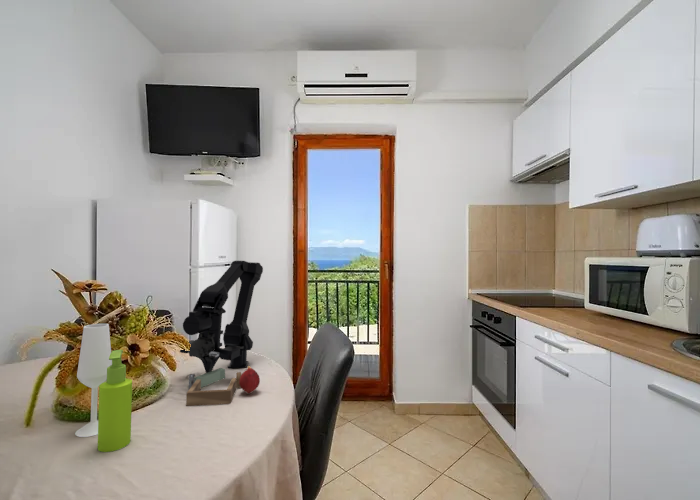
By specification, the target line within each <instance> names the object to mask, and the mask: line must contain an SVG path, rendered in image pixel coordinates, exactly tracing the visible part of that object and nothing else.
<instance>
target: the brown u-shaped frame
mask: <svg viewBox="0 0 700 500" xmlns="http://www.w3.org/2000/svg"><path fill="white" fill-rule="evenodd" d="M241 375H242V372H241V371H237V372H236V377H232V378H231V380H230V383H229V385H228V387H226V389H210V390H209V389H207V390H201V389H202V387H201V379H199V380H196V381H195V383H194V384H193V385H192V386H191V388H190V389H189V388H188V390H187V392H186V397H185V398H186V399H185V401H186V402H185V403H186V404H185V405H186V407H195V406H211V405H215V406H216V405H229V404H230V405H231V403H232V400H233V398H234V395H235V394H234V393H236V391H237V389H242V388H241V387H240V384H239V381H240V377H241Z"/></svg>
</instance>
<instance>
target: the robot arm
mask: <svg viewBox="0 0 700 500" xmlns="http://www.w3.org/2000/svg"><path fill="white" fill-rule="evenodd" d="M263 271H264V267H263V265H261V263H260V262H250V261H246V260H233V261H232V262H231V264H230V266H229V267H228V268H227V270H226V271H225V272H224V273H223V274H222V275H221V276H220V278H218V280H217V281H216V282H215V283H213V284H211V285H208V286H207V287H206V288H204V289H203V290H202V291H201V292H200V295H199V297H198V298H197V301H196V303H195V304H194V307H193V309H192V311H189V313H188V316H187V317H185V318H184V320H183V323H182V328H183V331H184V332H185V334H187V335H189V336H194V335H198V337H197V339H195V340H188V341H189V343H190V344H191V347H190V351H185V350H180V349H179V353H181V354H188V356H189V357H191V358H192V357H196V358H197V359H199V360H200V361H201V363H202V364H203V367H204V372H205V373H208V372H211V371H213V369H214V367H215V365H216V364H217V362H218V361H219V359H220V360H223V361H230V362H229V364H228V366H227V368H228V369H240V368H245V369H246V368H248V366H249V361H248V359H247V358H248V356H247V355H248V351H250V350H252V348H253V345H254V341H253V340H252V339H251V337H250V329H249V326H248V317H249V312H250V307H251V303H252V298H253V293H254V289H255V286H256V285H257V283H259V281H260V280H261V278H262V274H263V273H264V272H263ZM238 280H240V289H239V292H238V296H237V300H236V301H237V302H236V305H235V311H234V315H233V318H232V321H231V322H229V323H227V324H225V327H224V330H222V319H223V314H225V313H226V312H227V311H226V310H225V309H224V305H225V304H226V302H227V301H228V299H229V291H230V290H231V289H232V287H234V285H235V284H236V282H237V281H238ZM221 335H223V338H222V340H223V342H221ZM223 344H224V348H222V346H223Z"/></svg>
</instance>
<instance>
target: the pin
mask: <svg viewBox="0 0 700 500" xmlns="http://www.w3.org/2000/svg"><path fill="white" fill-rule="evenodd" d="M195 377H196V374H195V373H191V374H188V390H189V389H190V388H191V386H192V385H193V384H194V383H195Z"/></svg>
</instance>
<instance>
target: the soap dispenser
mask: <svg viewBox="0 0 700 500" xmlns="http://www.w3.org/2000/svg"><path fill="white" fill-rule="evenodd" d="M123 352H124V349H116V350H115V349H114V350H111V354H110V356H109V360H112V365H110V366H109V367H108V368H107V380H106V381H105V382H104V383H102V384H100V385H99V387H98V412H97V420H98V434H97V450H98V452H102V453H108V452H109V453H111V452H116V451H119V450H121V449H123V448H125V447H126V446H128V445H129V444H130V443H131V438H132V437H131V436H132V433H131V432H132V406H133V405H132V404H133V403H132V401H133V380H132V379H131V378H127V377H126V373H127V372H126V370H127V367H126V366H127V365H126V364H124V363H122V356H123V355H122V354H123Z"/></svg>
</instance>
